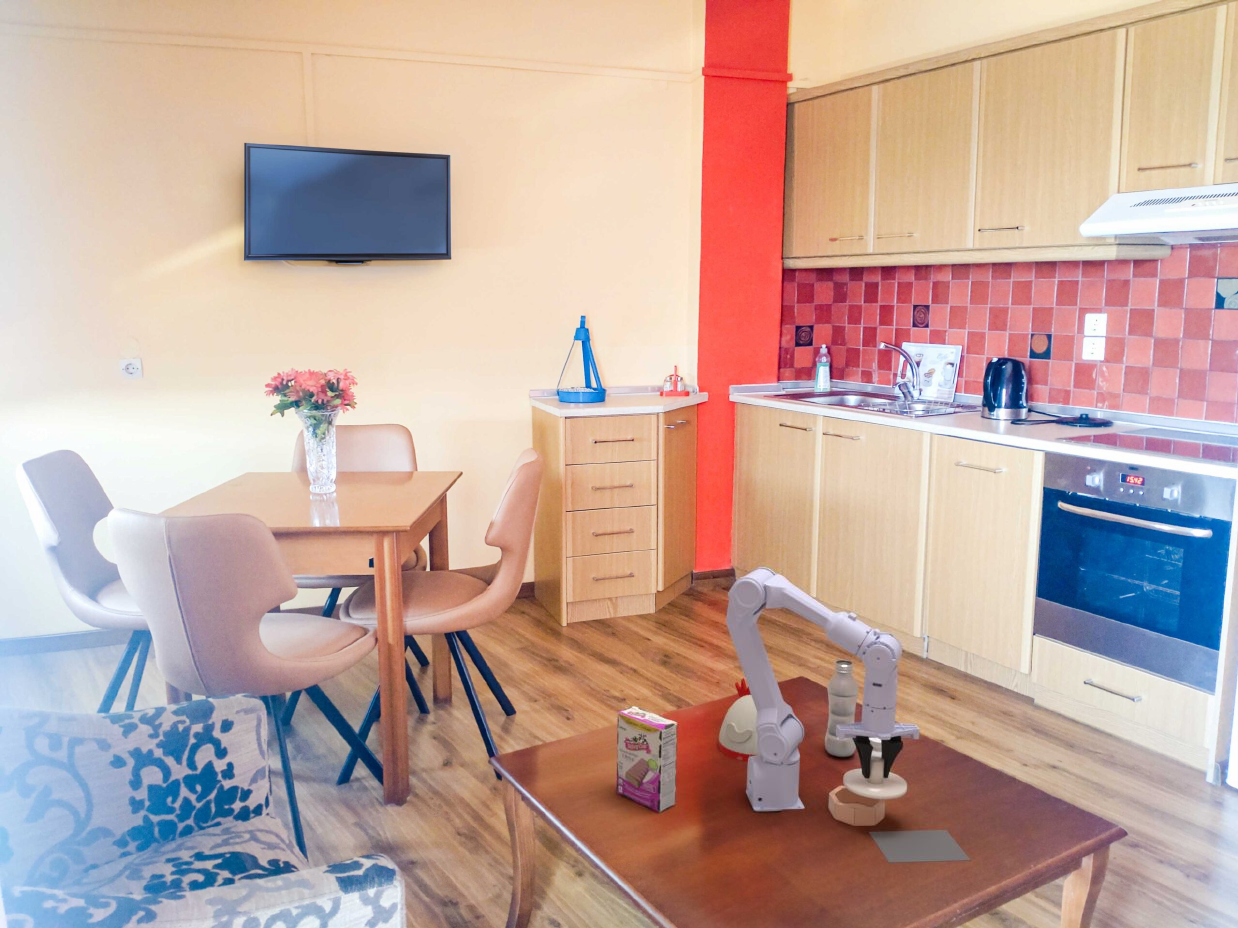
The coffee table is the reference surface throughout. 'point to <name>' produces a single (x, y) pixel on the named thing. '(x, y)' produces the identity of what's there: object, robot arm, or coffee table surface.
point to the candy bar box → (646, 758)
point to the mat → (918, 846)
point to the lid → (875, 782)
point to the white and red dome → (740, 727)
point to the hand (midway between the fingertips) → (874, 775)
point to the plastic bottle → (841, 708)
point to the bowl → (855, 807)
